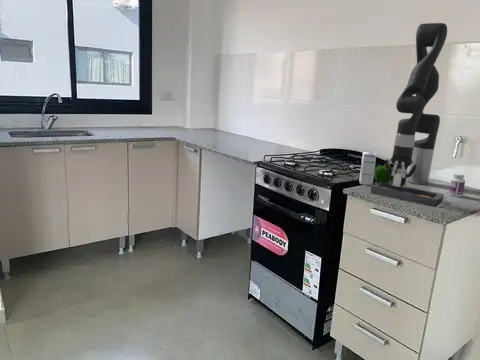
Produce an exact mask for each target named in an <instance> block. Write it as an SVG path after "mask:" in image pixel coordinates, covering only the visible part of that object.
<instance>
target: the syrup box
mask: <svg viewBox="0 0 480 360" xmlns="http://www.w3.org/2000/svg"><path fill="white" fill-rule="evenodd" d="M376 162H377V154H376V153H375V152H370V151H362V156H361V165H360V170H359V171H360V172H359V180H358V181H359V184H360V185H364V186H365V185H366V186H373V185H374V179H375V168H376Z"/></svg>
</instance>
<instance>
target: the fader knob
mask: <svg viewBox="0 0 480 360" xmlns="http://www.w3.org/2000/svg"><path fill="white" fill-rule="evenodd" d="M401 180H402V173H401V174H400V173H396V174H395V175H394V179H393V186H395V187H400V186H401Z"/></svg>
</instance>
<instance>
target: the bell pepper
mask: <svg viewBox="0 0 480 360" xmlns="http://www.w3.org/2000/svg"><path fill="white" fill-rule="evenodd" d="M391 164H392V163H391ZM391 164H390V165H391ZM391 169H392V171H393V166H391ZM391 177H392V176H391V174H388V173H387V169H386V166H385V164H384V165H381V164H380V165H379V164H378V165H377V166H376V165H375V170H374V180H375V182H376V184H377V183H379V182H386V183H391Z"/></svg>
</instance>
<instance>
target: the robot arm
mask: <svg viewBox="0 0 480 360" xmlns="http://www.w3.org/2000/svg"><path fill="white" fill-rule="evenodd" d="M447 36H448V26H447V24H446V23H444V22H428V23H420V24H419V25H418V26H417V29H416V32H415V48H416V50H415V51H416V65H415V66H414V67H413V69H412V71H411V73H410V76H409V79H408V82H407V85H406V86H405V88H404V89H403V91H402V93H400V96H399V97H398V99H397V101H396V104H395V105H396V107H395V108H396V110H397V112H399V113H401V114H411V117H409V118H402V119H400V120H398V123H397V128H396V129H397V131H396V136H395V138H394V145H393V152H392V156H391V158H390V159H384V165H385V166H386V169H387V173H388V174H391V176H392V177H391V181H390V183H391V184H392V185H393V179H394V175H395V174H398V171H399V170H401V174H402V180H401V186H405V185H406V182H409V183H412V184H415V185H428V184H429V179H430V173H431V170H432V169H431V168H432V165H433V164H432V163H433V157H434V151H435V146H436V141H437V136H438V132H439V128H440V124H441V118H440V115H438V114H431V113H424V110H425V108H426V106H427V105H428V103H429V102H430V101H431V99H432V98H433V97H434V96H435V95H436V94H437V92H438V90H439V83H440V74H439V71H438V69H437V68H436V66H435V64H436V62H437V60H438V58H439V55H440V53H441V52H442V49H443V47H444V44H445V42H446V40H447ZM427 47H428V48H431V49H430V51H429V52H428V49H427ZM416 133H418V134H426V135H427V137H425V138H423V139H417V140H416ZM390 164H392V165H393V166H391V165H390ZM391 167H392V168H393V171H392V169H391ZM408 168H409V171H408Z"/></svg>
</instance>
